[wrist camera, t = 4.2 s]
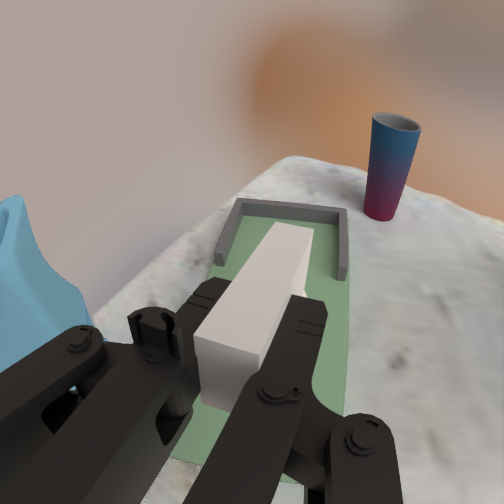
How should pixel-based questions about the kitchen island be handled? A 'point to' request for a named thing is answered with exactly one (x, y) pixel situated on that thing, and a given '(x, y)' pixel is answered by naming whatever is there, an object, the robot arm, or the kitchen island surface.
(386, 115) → the cup
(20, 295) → the vase
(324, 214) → the grey u-shaped wall
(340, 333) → the mat
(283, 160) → the kitchen island surface
